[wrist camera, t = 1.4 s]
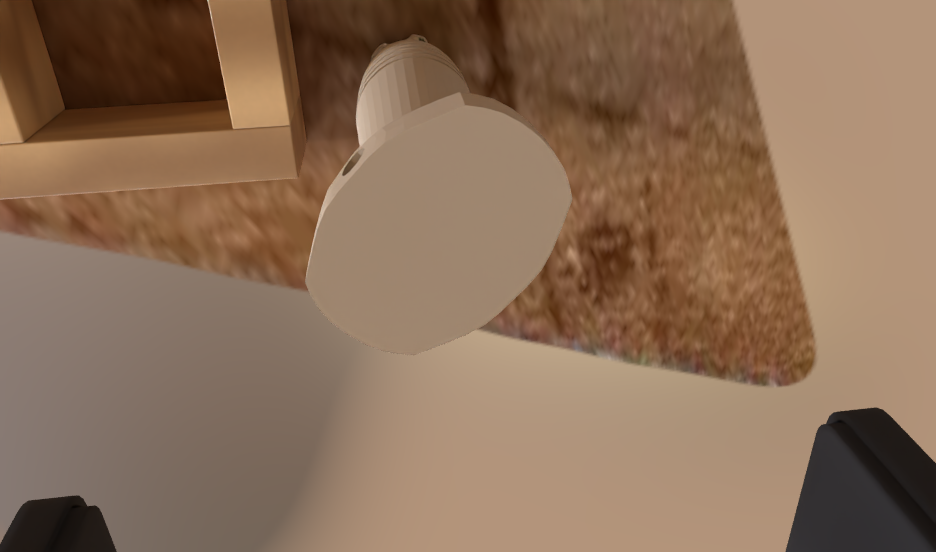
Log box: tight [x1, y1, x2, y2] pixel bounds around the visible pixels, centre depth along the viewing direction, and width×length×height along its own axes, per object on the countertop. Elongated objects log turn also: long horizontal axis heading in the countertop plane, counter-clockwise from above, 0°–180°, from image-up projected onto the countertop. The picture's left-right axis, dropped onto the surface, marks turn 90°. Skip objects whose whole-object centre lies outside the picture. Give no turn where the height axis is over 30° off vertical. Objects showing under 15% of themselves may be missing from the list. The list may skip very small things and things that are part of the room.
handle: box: [305, 34, 572, 355], centre depth 23 cm, size 5×6×15 cm
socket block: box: [0, 0, 307, 200], centre depth 25 cm, size 11×11×4 cm
